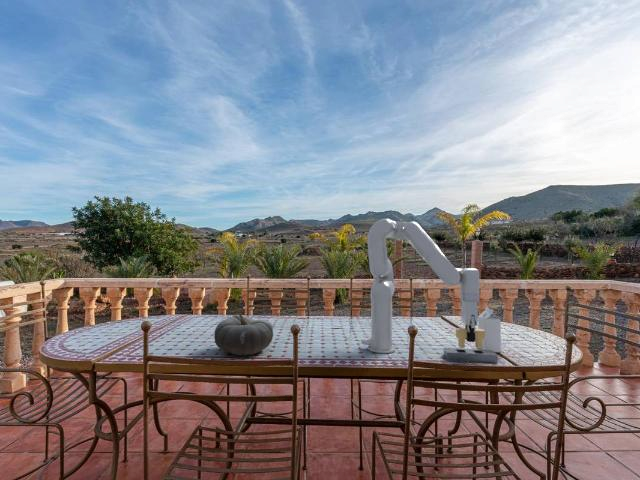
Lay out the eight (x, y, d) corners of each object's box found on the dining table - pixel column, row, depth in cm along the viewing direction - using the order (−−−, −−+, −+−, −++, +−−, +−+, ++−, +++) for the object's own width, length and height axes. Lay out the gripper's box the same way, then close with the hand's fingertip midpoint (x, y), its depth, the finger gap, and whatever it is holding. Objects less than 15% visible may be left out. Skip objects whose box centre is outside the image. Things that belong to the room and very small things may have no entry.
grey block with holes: (446, 359, 154) (446, 352, 154) (443, 354, 162) (443, 347, 162) (497, 362, 151) (497, 355, 151) (491, 357, 159) (491, 350, 159)
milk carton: (492, 348, 173) (492, 307, 173) (500, 352, 166) (500, 310, 166) (478, 348, 173) (478, 307, 173) (485, 352, 166) (485, 310, 166)
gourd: (228, 336, 179) (233, 302, 177) (277, 348, 174) (282, 313, 173) (202, 356, 154) (207, 317, 152) (258, 370, 150) (264, 330, 148)
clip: (457, 347, 156) (457, 329, 156) (455, 345, 159) (455, 328, 159) (484, 348, 154) (484, 330, 154) (482, 347, 157) (482, 329, 157)
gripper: (456, 294, 166) (456, 335, 165) (464, 299, 150) (465, 345, 149) (474, 295, 164) (474, 336, 164) (484, 300, 148) (484, 346, 148)
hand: (469, 340), depth 157 cm, fingers closed on clip, 3 cm apart
